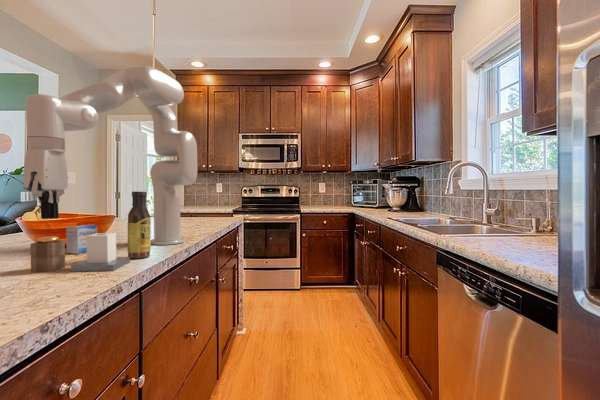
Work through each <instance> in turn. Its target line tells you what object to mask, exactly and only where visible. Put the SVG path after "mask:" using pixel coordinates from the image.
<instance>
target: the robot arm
mask: <svg viewBox="0 0 600 400" xmlns="http://www.w3.org/2000/svg"><path fill="white" fill-rule="evenodd" d="M136 96H137V98H138V99H139V101H140V102H141V104H142V105H144V107H145V108H146V110H147V111H148V112H149V113H150V115H151V118H152V123H153V146H154V152H155V153H156V154H157V155H158V156H159V157H165V158H166V157H167V158H174V157H178V159H175V160H174V159H173V160H172V159H170V160H169V159H168V160H160V161H156V162H155V163H153V164H152V166H151V168H150V175H149V176H150V179H151V183H152V184H151V185H152V190H153V191H152V192H153V194H152V195H153V239H151V245H156V246H158V245H159V246H167V245H168V246H169V245H177V244H178V245H179V244H182V243H185V242H186V241H185V238H184V237H181V196H180V192H179V190H178V189H177V187H176V186H191V185H193V184H194V183H195V182H196V181H197V177H198V145H197V140H196V138H195V136H194V135H193V133H191V132H190V131H188V130H187V131H186V130H179V129H178V119H177V115H176V114H175V112H174V111H173V110H172V109H171V107H170V106H175V105H179V104H181V103H182V102H183V100H184V99H185V92H184V88H183V87H182V84H181V83H180V82H178V80H176V79H175V78H174V77H171V76H170V75H168V74H166V73H165V72H163V71H161V70H160V69H158V68H156V67H154V66H151V65H140V66H132V67H131V66H130V67H125V68H122V69H120V70H118V71H117V72H115V73H113V74H111V75H109V76H107V77H105V78H104V79H102V80H100V81H98V82H96V83H92V84H91V85H87V86H86V87H83V88H80V89H77V90H75V91H73V92H70V93H67V94H66V95H63V96H61V97H56V96H54V95H48V94H40V93H38V94H37V93H36V94H35V93H34V94H30V95H27V96H26V98H25V116H26V117H25V118H26V138H27V139H26V141H27V142H26V143H27V150H26V151H25V156H24V163H23V164H24V165H23V187H24V189H25V190H26V191H28V192H29V191H31V195H32V196H33V197H37V199H38V203H39V204H40V218H41V219H42V220H46V219H47V220H52V219H58V218H59V217H60V215H59V203H60V196H63V195H65V190H66V189H67V188H68V185H69V181H68V180H69V179H68V177H69V176H68V167H67V160H66V154H65V153H66V141H65V139H66V136H65V135H66V134H65V132H70V131H71V132H72V131H73V132H74V131H87V130H90V129H92V128H94V127H96V125H97V124H98V122H99V114H100V113H101V114H102V113H106V112H111V111H113V110H116V109H119V108H121V107H122V106H123V105H124V104H126V103H127V102H129V101H131V100H132V99H133V98H135V97H136Z"/></svg>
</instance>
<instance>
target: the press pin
mask: <svg viewBox="0 0 600 400" xmlns="http://www.w3.org/2000/svg"><path fill="white" fill-rule="evenodd" d="M59 240H60V237H59V236H41V237H36V242H37V243H51V242H57V241H59Z"/></svg>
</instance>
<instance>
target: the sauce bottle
mask: <svg viewBox="0 0 600 400" xmlns="http://www.w3.org/2000/svg"><path fill="white" fill-rule="evenodd" d="M147 194H148V193H147V191H138V190H137V191H131V197H132V204H131V205H132V206H131V208H130V211H129V212H128V215H127V253H128V254H127V257H130V260H132V259H133V260H134V259H135V260H136V259H145V258H146V259H147V258H149V257H150V255H151V249H152V247H151V245H152V244H151V240H152V239H151V237H152V236H151V235H152V233H151V231H152V230H151V221H152V220H151V215H150V212H149V209H148V207H147V196H148V195H147Z"/></svg>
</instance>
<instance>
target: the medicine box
mask: <svg viewBox="0 0 600 400" xmlns="http://www.w3.org/2000/svg"><path fill="white" fill-rule="evenodd" d="M65 231H66V232H65V235H66V237H65V239H66V240H65V241H66V242H65V243H66V254H67V253H71V255H81V254H80V253H82V254H86V253H87V236H88V235H92V234H96V233H98V225H97V224H83V225H75V226H66V227H65ZM85 252H86V253H85Z"/></svg>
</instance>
